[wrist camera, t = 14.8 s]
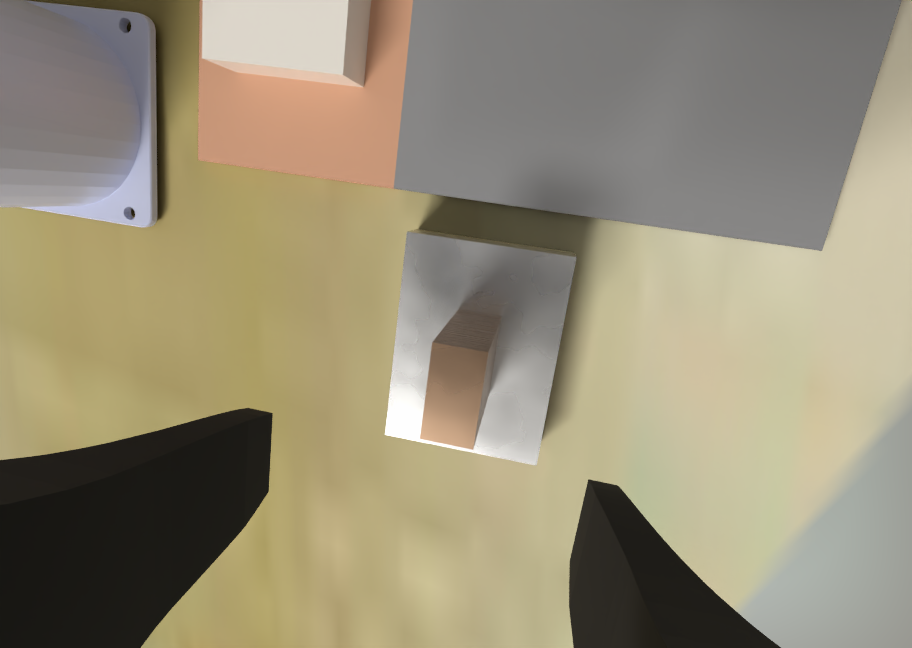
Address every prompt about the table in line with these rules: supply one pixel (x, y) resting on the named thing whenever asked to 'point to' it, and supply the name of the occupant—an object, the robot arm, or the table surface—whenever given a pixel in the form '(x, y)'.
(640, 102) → the mat
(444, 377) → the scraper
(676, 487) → the table surface
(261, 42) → the block
